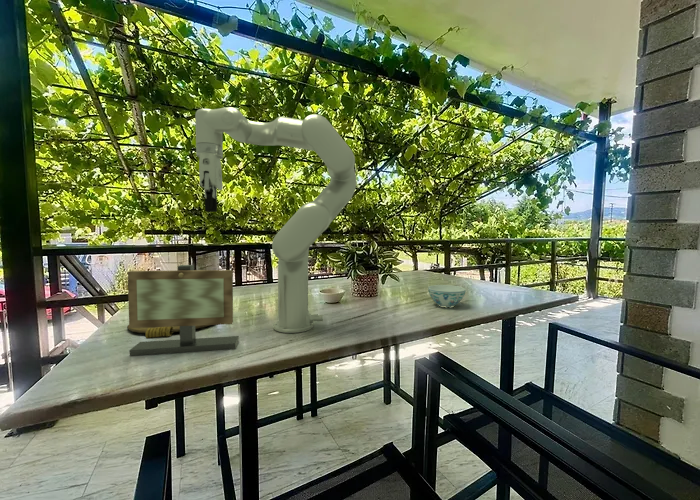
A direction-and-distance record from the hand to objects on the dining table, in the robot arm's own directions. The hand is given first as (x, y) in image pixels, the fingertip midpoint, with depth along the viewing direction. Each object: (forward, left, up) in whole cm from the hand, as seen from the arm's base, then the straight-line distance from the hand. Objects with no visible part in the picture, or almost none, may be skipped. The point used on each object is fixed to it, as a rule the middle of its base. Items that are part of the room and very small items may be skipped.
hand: (211, 211), depth 99 cm
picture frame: (+3, +20, -30) cm, 36 cm away
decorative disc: (+13, -8, -38) cm, 41 cm away
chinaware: (-88, -13, -37) cm, 96 cm away
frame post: (+3, +17, -37) cm, 41 cm away
